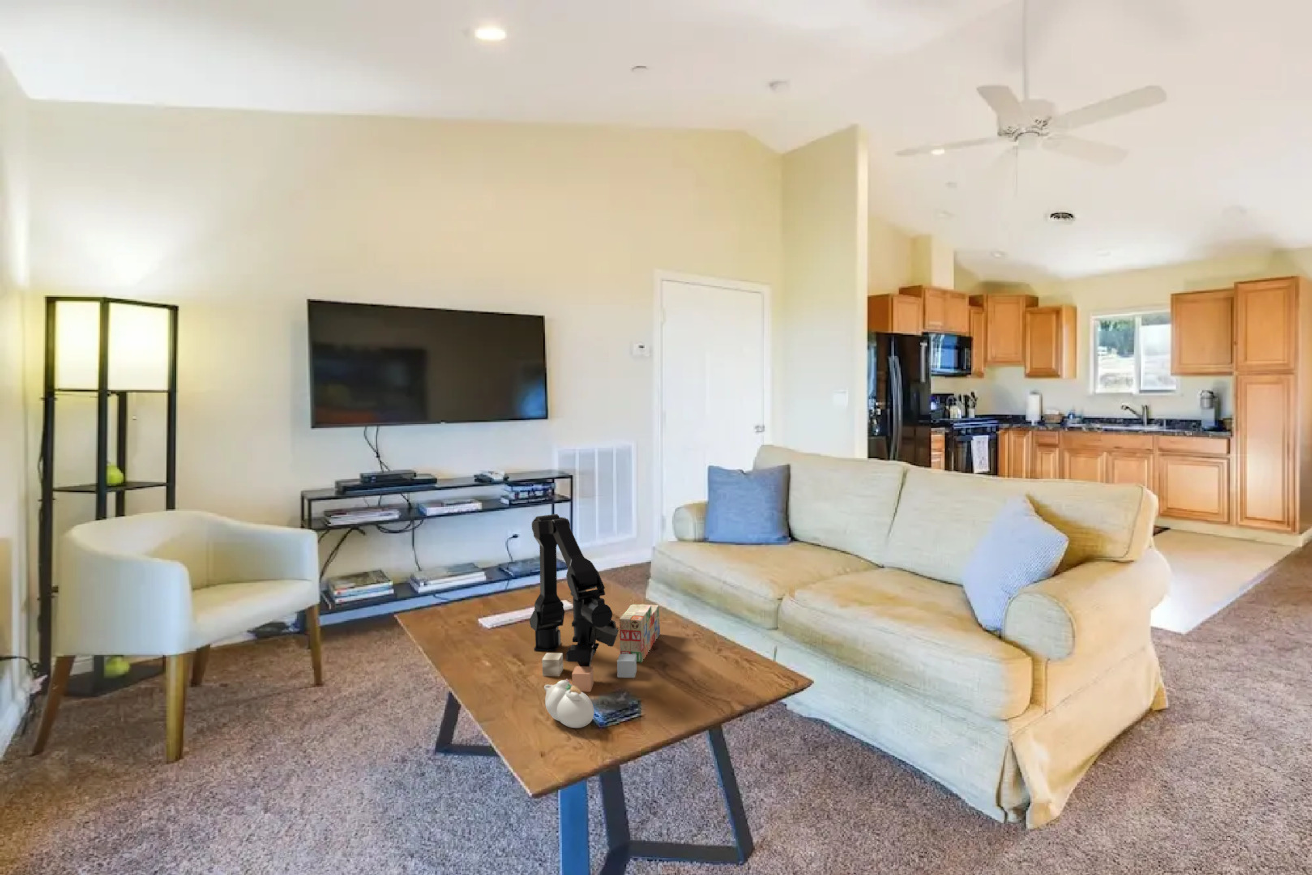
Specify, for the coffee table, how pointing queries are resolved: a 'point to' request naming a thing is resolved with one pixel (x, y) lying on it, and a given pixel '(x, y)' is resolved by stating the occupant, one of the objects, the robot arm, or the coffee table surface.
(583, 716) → the cat figurine
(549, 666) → the cream block
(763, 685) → the coffee table surface
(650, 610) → the stack of blocks
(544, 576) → the robot arm
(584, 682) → the terracotta block
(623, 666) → the blue grey block
